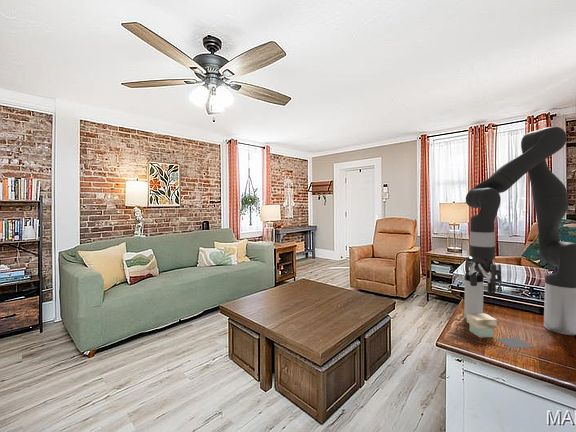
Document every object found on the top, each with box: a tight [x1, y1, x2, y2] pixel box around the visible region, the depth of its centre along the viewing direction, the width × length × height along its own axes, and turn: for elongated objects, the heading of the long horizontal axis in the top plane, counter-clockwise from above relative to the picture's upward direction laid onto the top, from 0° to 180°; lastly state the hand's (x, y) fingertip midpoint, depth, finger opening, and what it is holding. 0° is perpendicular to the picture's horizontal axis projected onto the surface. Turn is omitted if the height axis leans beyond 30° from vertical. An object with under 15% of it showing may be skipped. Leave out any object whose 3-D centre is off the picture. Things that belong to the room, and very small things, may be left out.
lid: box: [466, 312, 498, 329], centre depth 99 cm, size 7×6×3 cm
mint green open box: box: [469, 324, 494, 339], centre depth 99 cm, size 5×5×4 cm
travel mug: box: [463, 272, 484, 321], centre depth 111 cm, size 6×7×20 cm
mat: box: [494, 337, 534, 349], centre depth 93 cm, size 8×6×1 cm
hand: (482, 289), depth 98 cm, fingers open, 8 cm apart
